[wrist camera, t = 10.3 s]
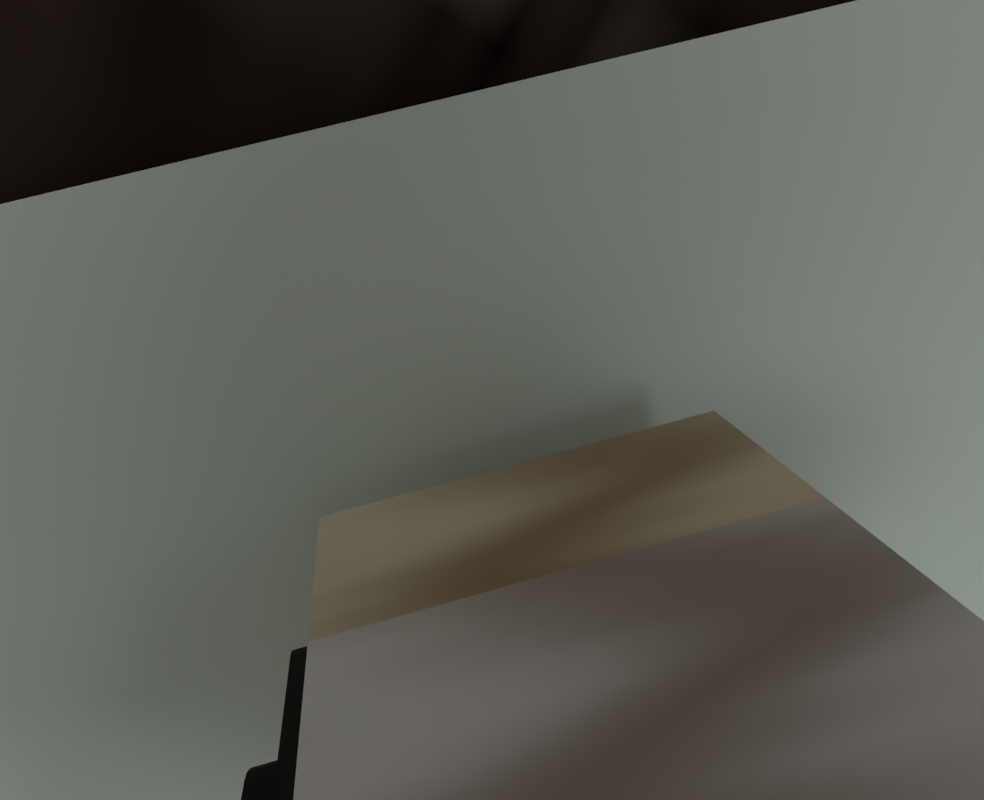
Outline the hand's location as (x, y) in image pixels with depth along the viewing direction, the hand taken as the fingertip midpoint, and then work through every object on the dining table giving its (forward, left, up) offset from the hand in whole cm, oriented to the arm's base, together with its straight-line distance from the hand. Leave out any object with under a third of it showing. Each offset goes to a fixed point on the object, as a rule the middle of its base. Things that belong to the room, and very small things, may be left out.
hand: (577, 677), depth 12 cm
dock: (0, 0, -6) cm, 6 cm away
